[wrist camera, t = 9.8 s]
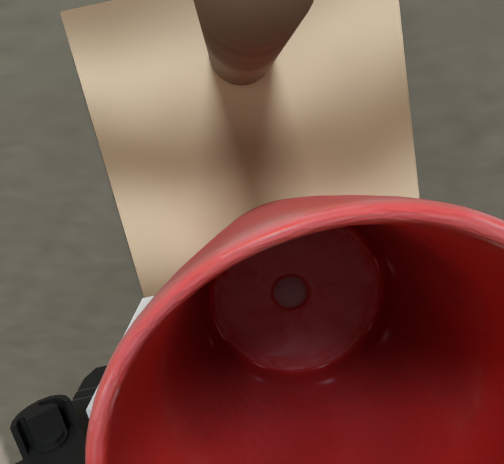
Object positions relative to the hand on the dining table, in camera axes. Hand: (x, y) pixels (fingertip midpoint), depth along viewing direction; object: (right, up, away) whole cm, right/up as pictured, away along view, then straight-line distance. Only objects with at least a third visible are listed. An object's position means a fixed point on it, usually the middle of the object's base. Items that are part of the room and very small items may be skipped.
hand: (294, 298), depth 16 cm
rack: (0, +1, +3) cm, 3 cm away
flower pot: (0, 0, +1) cm, 1 cm away
